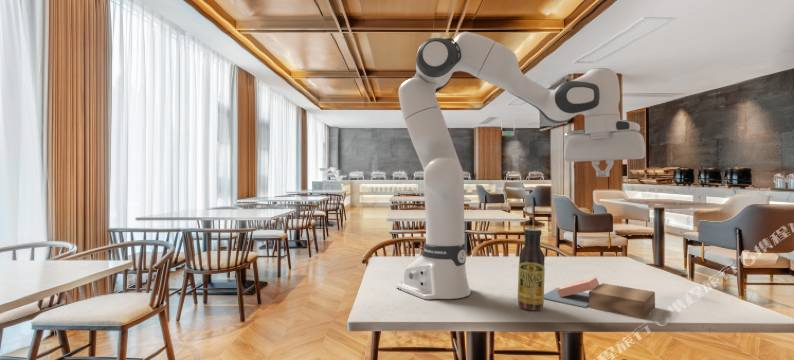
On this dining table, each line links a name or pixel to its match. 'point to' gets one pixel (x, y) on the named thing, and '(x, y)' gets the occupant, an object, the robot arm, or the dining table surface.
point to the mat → (569, 298)
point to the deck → (622, 300)
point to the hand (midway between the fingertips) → (602, 176)
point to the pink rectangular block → (578, 287)
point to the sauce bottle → (531, 272)
